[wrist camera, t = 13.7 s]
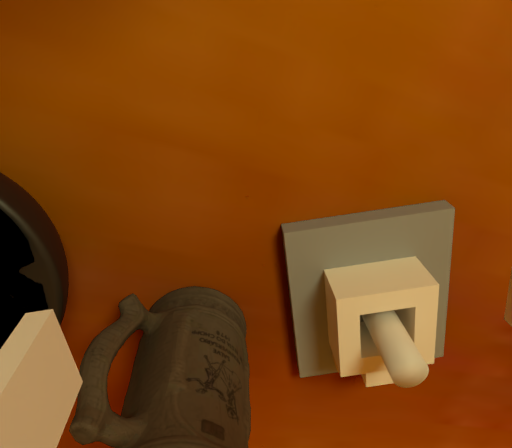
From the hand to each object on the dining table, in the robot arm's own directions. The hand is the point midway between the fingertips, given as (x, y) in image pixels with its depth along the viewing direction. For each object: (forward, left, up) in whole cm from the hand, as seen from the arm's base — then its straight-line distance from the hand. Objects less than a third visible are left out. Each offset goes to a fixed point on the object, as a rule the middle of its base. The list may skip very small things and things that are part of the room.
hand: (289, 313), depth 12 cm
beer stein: (+19, -10, -27) cm, 34 cm away
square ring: (+21, +10, -25) cm, 34 cm away
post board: (+19, +10, -27) cm, 34 cm away
